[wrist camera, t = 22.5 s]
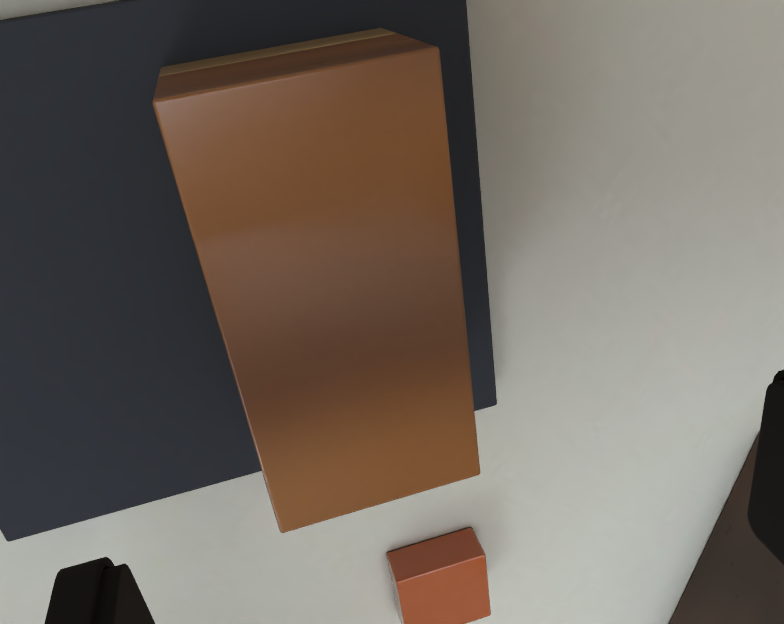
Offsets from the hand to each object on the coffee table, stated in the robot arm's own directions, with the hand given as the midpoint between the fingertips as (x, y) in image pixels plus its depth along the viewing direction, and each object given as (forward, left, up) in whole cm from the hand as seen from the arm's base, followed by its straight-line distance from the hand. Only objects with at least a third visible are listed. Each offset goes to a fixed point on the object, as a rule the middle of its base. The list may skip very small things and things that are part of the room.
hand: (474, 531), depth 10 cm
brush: (0, 0, -11) cm, 11 cm away
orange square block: (-2, +15, -12) cm, 19 cm away
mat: (+3, 0, -12) cm, 12 cm away
